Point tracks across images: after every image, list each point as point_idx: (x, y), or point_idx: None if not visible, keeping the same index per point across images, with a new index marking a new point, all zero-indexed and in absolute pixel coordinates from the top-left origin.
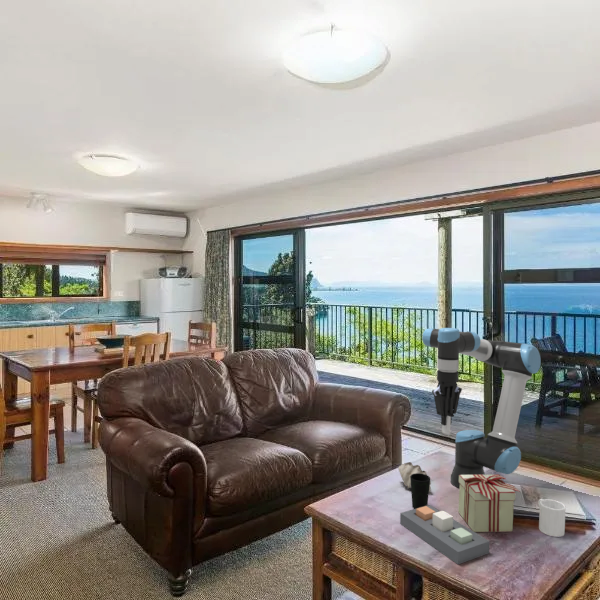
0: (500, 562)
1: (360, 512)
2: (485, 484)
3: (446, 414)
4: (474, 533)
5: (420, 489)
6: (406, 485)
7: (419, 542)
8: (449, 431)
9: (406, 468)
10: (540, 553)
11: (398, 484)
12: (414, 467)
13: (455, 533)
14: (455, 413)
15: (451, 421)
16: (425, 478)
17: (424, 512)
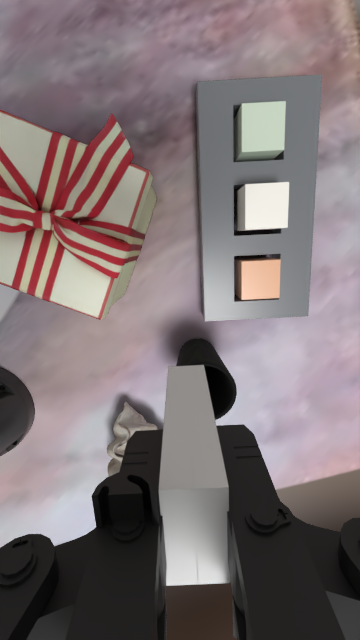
0: (202, 47)
1: (344, 389)
2: (66, 202)
3: (267, 539)
4: (205, 136)
5: (219, 359)
6: None
7: (317, 218)
8: (179, 376)
9: None
10: (67, 30)
11: None
12: None
13: (283, 129)
14: (21, 540)
15: (124, 453)
16: None
17: (273, 270)
